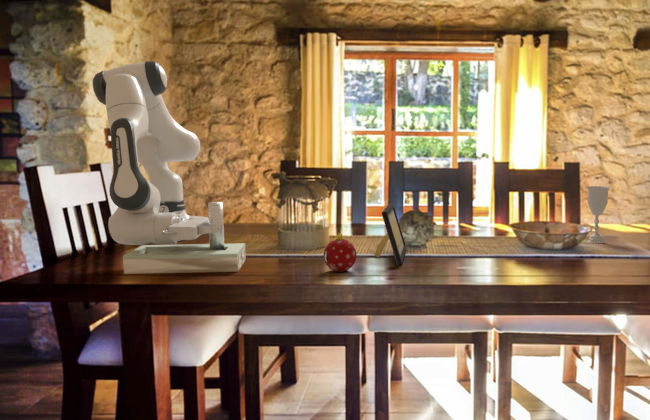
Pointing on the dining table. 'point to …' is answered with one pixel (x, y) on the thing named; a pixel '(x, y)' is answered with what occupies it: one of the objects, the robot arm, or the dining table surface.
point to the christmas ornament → (340, 254)
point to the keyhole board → (184, 259)
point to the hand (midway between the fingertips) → (219, 227)
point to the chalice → (597, 208)
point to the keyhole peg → (217, 219)
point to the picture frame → (392, 235)
